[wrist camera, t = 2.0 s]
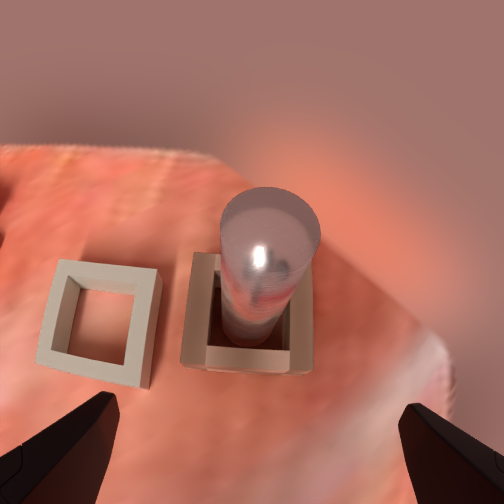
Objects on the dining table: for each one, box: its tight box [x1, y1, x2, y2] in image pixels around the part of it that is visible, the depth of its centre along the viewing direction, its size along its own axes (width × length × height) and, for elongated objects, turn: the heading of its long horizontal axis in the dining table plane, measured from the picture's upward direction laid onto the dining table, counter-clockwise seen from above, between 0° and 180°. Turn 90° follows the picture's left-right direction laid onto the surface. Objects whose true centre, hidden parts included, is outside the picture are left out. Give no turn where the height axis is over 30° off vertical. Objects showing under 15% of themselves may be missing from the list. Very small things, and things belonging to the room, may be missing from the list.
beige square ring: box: [180, 252, 314, 376], centre depth 21 cm, size 8×7×3 cm
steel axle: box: [220, 187, 321, 347], centre depth 17 cm, size 4×4×12 cm
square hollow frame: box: [35, 259, 163, 390], centre depth 20 cm, size 8×8×2 cm
